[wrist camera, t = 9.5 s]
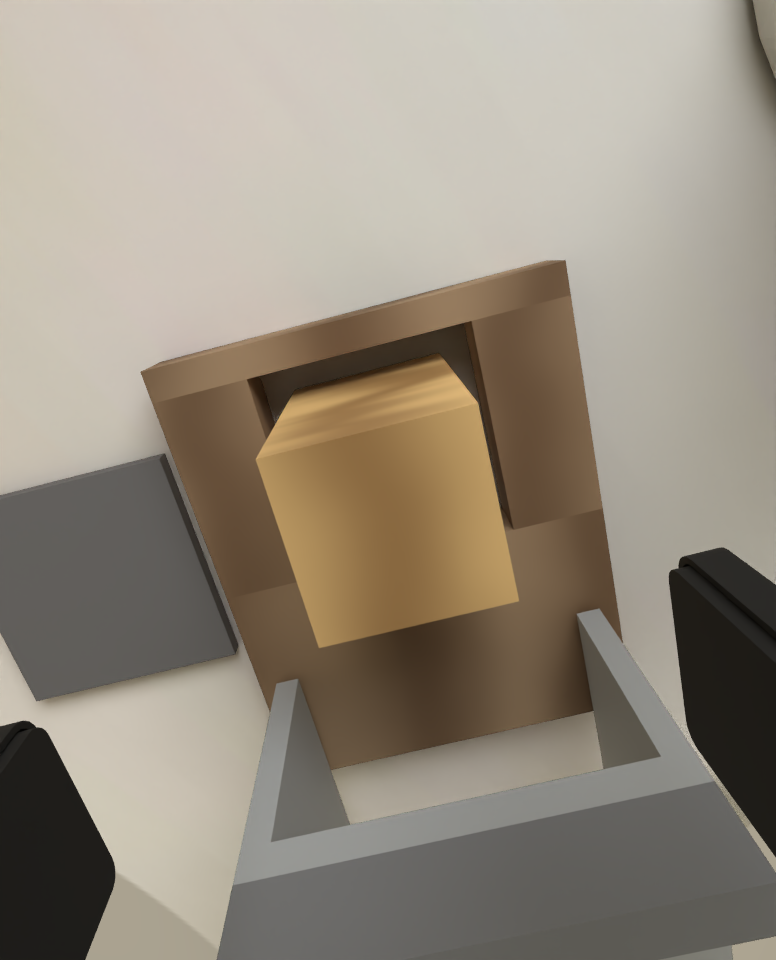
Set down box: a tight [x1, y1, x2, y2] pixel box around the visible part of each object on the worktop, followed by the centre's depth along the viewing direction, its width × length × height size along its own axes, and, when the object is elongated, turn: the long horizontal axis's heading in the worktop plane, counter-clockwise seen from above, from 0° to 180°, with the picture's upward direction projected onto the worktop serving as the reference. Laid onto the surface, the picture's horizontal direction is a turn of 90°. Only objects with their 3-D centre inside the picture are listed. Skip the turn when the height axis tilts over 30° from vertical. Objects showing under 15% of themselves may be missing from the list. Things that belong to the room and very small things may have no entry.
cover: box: [217, 609, 776, 960], centre depth 19 cm, size 12×7×10 cm, turn 104°
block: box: [256, 353, 519, 648], centre depth 18 cm, size 5×5×8 cm
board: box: [141, 260, 623, 770], centre depth 22 cm, size 13×16×2 cm
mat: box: [0, 454, 238, 701], centre depth 23 cm, size 8×8×1 cm
